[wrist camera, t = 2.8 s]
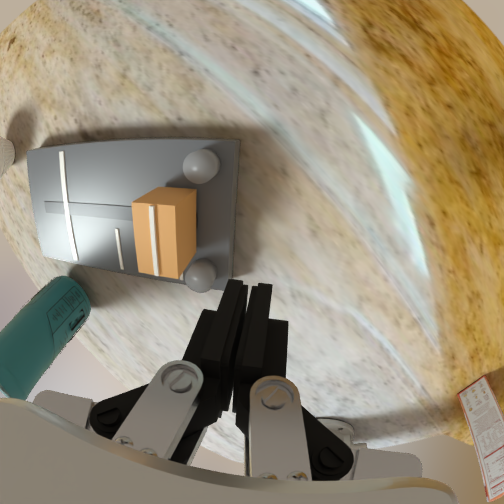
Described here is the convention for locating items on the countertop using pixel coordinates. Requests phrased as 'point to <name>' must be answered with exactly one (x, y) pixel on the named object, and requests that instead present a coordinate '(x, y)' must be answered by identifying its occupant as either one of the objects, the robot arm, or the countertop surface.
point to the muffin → (6, 155)
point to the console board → (128, 190)
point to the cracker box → (486, 433)
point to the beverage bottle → (40, 334)
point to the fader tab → (165, 230)
